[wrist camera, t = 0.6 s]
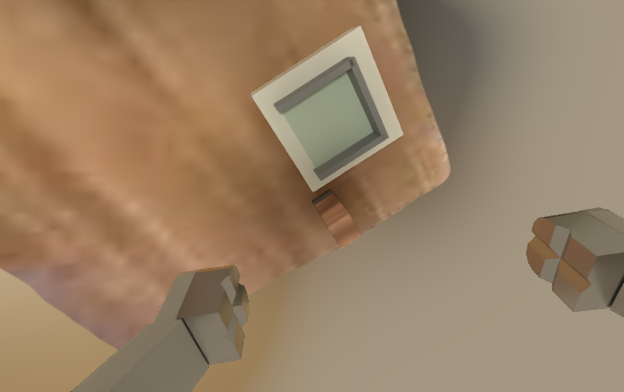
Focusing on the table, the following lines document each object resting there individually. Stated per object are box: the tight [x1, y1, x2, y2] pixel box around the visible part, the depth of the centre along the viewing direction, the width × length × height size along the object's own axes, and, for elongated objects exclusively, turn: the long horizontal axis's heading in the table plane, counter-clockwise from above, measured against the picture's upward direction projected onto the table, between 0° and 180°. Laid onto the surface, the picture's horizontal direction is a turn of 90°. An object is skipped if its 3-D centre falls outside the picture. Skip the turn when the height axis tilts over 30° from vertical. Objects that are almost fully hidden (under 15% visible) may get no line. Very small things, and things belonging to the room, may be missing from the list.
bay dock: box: [250, 26, 404, 192], centre depth 46 cm, size 18×18×7 cm
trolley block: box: [312, 190, 362, 248], centre depth 52 cm, size 5×4×10 cm
